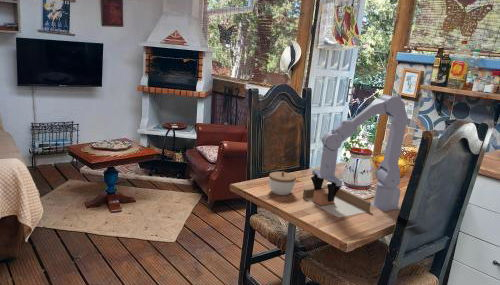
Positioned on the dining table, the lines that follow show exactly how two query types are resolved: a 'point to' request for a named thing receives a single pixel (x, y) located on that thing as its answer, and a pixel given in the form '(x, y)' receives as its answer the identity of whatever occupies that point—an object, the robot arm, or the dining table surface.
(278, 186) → the lidded jar
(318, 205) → the pad
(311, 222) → the dining table surface
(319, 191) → the bar
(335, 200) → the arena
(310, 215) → the dining table surface
